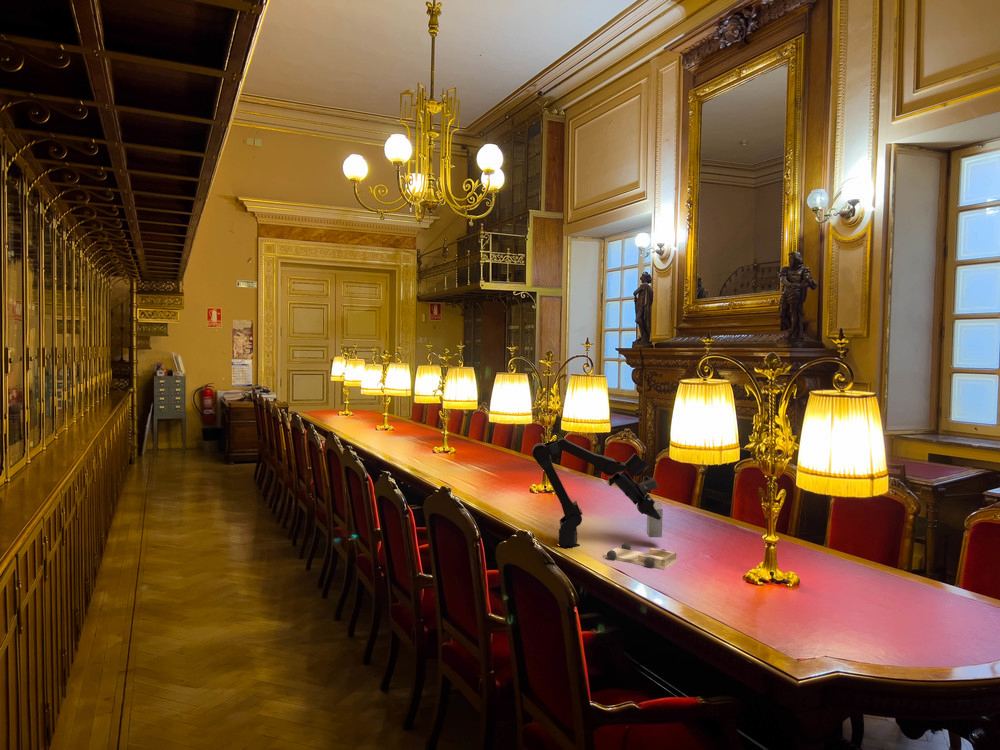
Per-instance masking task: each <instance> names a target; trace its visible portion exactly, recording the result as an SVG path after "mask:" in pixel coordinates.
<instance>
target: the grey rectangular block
mask: <svg viewBox="0 0 1000 750" xmlns="http://www.w3.org/2000/svg"><path fill="white" fill-rule="evenodd" d="M654 501H655V503H654V508H655V510H656V511H657V513H658V514H659V516H660V517H661V519H660V520H657V519H655V518H653V517H651V516H648V515H646V535H647V536H648V537H649V538H661V539H662V538H663V508H662V502H661V501H659V500H654Z"/></svg>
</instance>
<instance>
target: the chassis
mask: <svg viewBox="0 0 1000 750" xmlns="http://www.w3.org/2000/svg"><path fill="white" fill-rule="evenodd" d="M631 549H632V546H631V544H630V542H623V543H622V545H621V548H620V547H614V548H612V549H611V550H609V551H606V552H605V553H603V554H602V556H603V558H606V559H608V560H609V561H613V560H615V561H620V562H626V563H631V564H635V565H640V566H645V567H646V568H649V569H650V568H655V569H661V570H667V569H668V568H670V567H671V566H672V565H673V564H675V563H677V552H673V551H668V550H666V549H657V548H653V547H650V548H649V550H648V552H649V553H647V552H643V551H638V550H633V549H632V550H631Z"/></svg>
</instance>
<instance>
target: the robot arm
mask: <svg viewBox="0 0 1000 750" xmlns="http://www.w3.org/2000/svg"><path fill="white" fill-rule="evenodd" d="M562 451H563V452H566V453H568V454H570V455H572V456H574V457H576V458H578V459H580V460H583V461H584V462H587V463H589V464H590V465H592V466H594V467H595V468H596V469H597V470H599V471H600V472H601V473H603V474H605V475H606V476H608V477H607V479H608V483H607V484H608V486H609V487H612V486H613V484H615V486H617V488H619V490H620V491H621V492H622V493H623V494H624V495H625V496H626V497H627V498H628V499H629V500H630V501H631V502H632V503H633V505H635V506H636V509H637V511H638V512H639V513H640V514H641V515H646V516H647V515H648V516H651V517H653V518H655V519H657V520H660V519H661V517H660V516H659V514H658V513H657V511H656V510H655V508H654V503H655V501H656V500H654V499H653V498H652V497H651V496H650V494H649V492H651V491H653V490H656V489H658V488H659V485H658V483H657V480H656V479H655V478H654V477H649V476H648V475H644V476H643V478H642V480H641V482H638V481H636V480H634V479H633V478H634V477H635V478H636V477H637V478H638V477H640V475H642V473H644V472H645V471H646V470H647V469H648V468H649V467H650V466H649V465H648V464H647V463H646V462H645V461H644V460H643V459H642V457H641V458H640V456H639V455H637V453H635V452H634V453H633V454H632V455H631V456H630V458H628V460H626V461H625V462H623V461H619V460H617V461H616V460H615V459H614V458H613V457H609V456H606V455H602V454H598V453H595V452H592V451H590V450H588V449H586V448H584V447H582V446H579V445H578V444H576V443H574V442H572V441H569V440H568V439H566V438H564V437H560V438H559V439H557V440H556V439H555V440H552V441H547V442H545V443H543V442H537V443H535V444H534V445H533V447H532V451H531V452H532V457H533V458H534V460H535V462H537V464H538V465H539V466H540V468H541V469H542V470H543V471H544V473H545V475H546V477H547V479H548V481H549V483H550V485H551V487H552V489H553V492H554V493H555V495H556V497H557V499H558V500H559V503H560V505H561V508H562V511H563V516H562V517H561V519H559V521H558V522H559V527H560V528H559V529H558V542H557V543H558V544H559V545H560V546H563V547H565V548H564V549H566V548H571V549H573V547H574V548H577V547H580V546H581V544H579V543H578V531H577V530H578V529H577V528H578V526H580V525H581V524H582V521H583V517H582V515H583V510H582V509H581V508H580V507H579V504H578V502H577V501H578V500H575V501H573V500H572V499H571V498H570V496H569V494H568V492H567V491H566V488H565V486H564V485H563V483H562V480H561V478H560V477H559V474H558V473H557V471H556V469H555V467H554V464H553V462H552V457H551V456H552V455H555V454H557V453H559V452H562ZM629 474H630V475H631V476H632V477H631V476H630V475H629ZM563 547H562V548H563Z"/></svg>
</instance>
